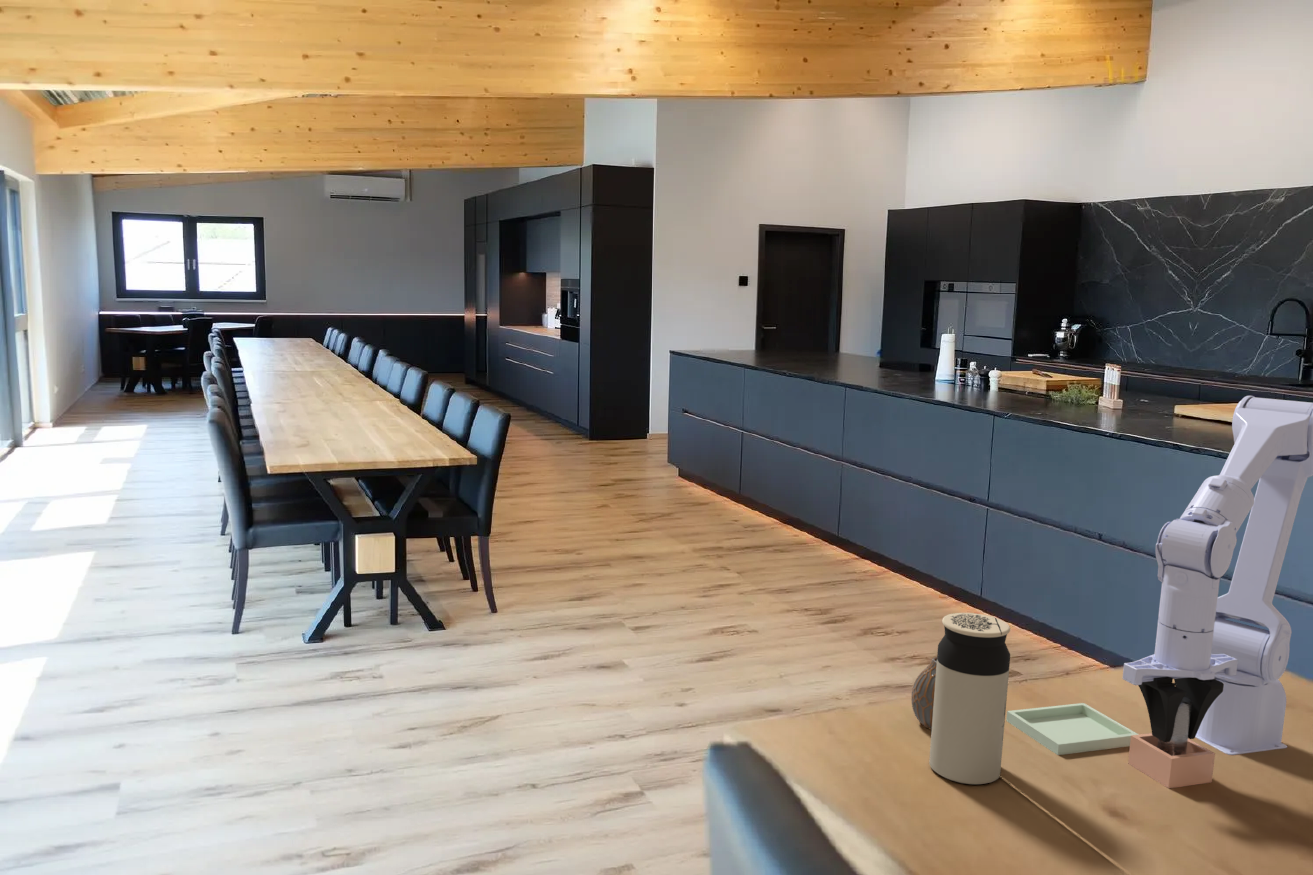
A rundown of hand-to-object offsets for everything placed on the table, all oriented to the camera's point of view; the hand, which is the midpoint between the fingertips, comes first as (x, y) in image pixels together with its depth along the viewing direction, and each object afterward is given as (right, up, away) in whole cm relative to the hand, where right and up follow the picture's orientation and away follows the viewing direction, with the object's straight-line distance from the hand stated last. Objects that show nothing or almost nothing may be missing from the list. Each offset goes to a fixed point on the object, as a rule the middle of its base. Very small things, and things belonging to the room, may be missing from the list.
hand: (1173, 736), depth 117 cm
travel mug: (-24, -4, +1) cm, 25 cm away
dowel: (0, -4, +1) cm, 4 cm away
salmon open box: (0, -5, +1) cm, 5 cm away
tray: (-7, -3, +11) cm, 14 cm away
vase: (-24, -3, +13) cm, 27 cm away
